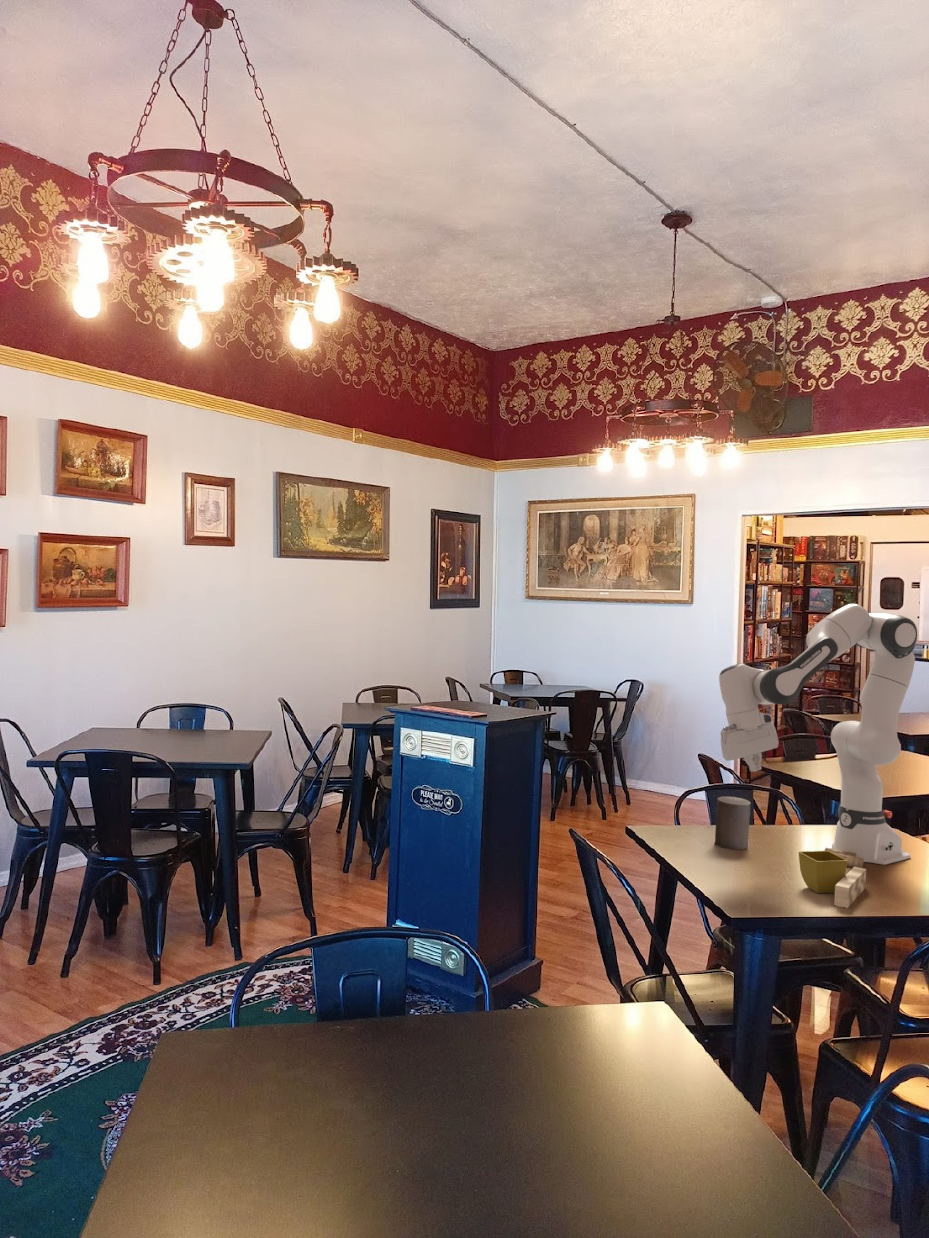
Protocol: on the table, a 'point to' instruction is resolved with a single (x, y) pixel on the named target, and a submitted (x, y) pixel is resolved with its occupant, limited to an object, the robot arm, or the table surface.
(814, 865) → the flower pot
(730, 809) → the pillar candle
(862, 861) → the roller
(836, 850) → the roller
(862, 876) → the rail
